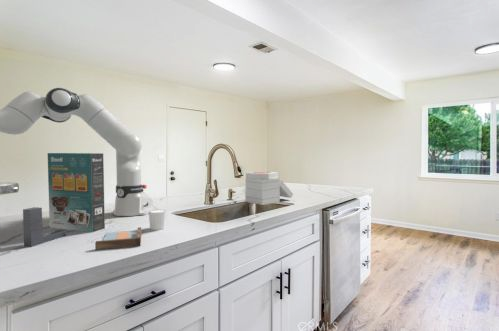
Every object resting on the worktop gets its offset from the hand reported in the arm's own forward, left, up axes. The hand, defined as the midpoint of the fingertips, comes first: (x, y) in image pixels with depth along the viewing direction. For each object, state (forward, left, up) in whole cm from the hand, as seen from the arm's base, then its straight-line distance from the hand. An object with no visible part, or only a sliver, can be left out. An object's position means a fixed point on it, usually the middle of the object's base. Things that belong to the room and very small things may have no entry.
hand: (2, 191), depth 100 cm
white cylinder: (-32, +38, -17) cm, 53 cm away
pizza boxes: (-111, +63, -17) cm, 129 cm away
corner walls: (-13, +37, -17) cm, 43 cm away
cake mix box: (-22, +7, -17) cm, 29 cm away
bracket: (-6, +12, -17) cm, 22 cm away
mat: (-16, +36, -17) cm, 43 cm away
